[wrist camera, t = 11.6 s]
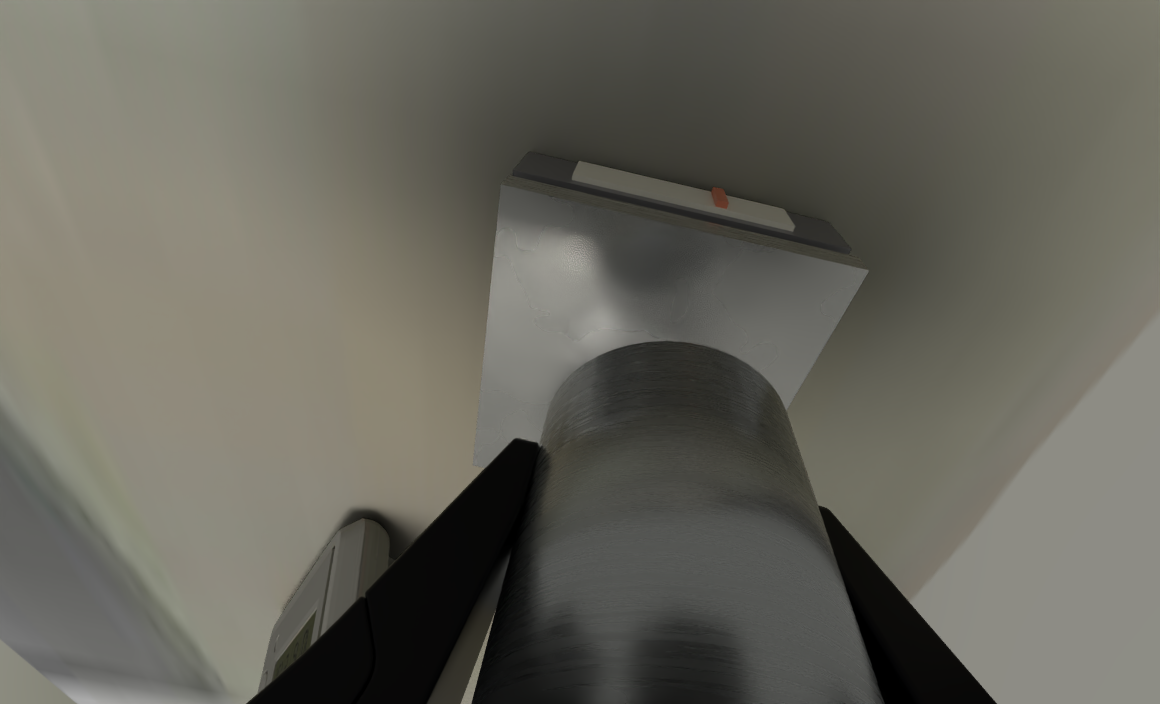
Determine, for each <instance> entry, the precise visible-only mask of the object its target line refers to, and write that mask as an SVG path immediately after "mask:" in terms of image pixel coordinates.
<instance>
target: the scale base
mask: <svg viewBox="0 0 1160 704" xmlns="http://www.w3.org/2000/svg"><path fill="white" fill-rule="evenodd" d="M513 176H515V177H519V178H523V179H527V180H532V181H536V182H540V183H545V184H549V185H553V186H557V187H562V188H566V189H570V190H574V191H579V192H583V193H587V194H592V195H596V196H600V197H604V198H609V199H613V200H617V201H621V202H626V203H630V204H634V205H639V206H643V207H647V208H651V209H656V210H660V211H664V212H669V213H673V214H677V215H681V216H686V217H690V218H694V219H698V220H703V221H707V222H711V223H716V224H720V225H724V226H728V227H733V228H737V229H741V230H745V231H750V232H754V233H758V234H763V235H767V236H771V237H775V238H780V239H784V240H788V241H792V242H797V243H801V244H805V245H810V246H814V247H818V248H822V249H827V250H831V251H835V252H839V253H844V254H849V253H850V251H851V248H850V247H849V245H848V244H847V243H846V242H845V241H844V239H843V238H842V237H841V236H840V235H839V233H838V232H837V231H836V230H835V229H834V227H833V226H832V225H831V224H830V223H829V222H827V221H823V220H818V219H814V218H810V217H806V216H801V215H797V214H793V213H789V212H786V211H785V210H784V209H783V208H778V207H774V206H770V205H766V204H761V203H757V202H753V201H749V200H744V199H740V198H736V197H732V196H727V195H726V194H725V192H724V189H721V188H716V187H713V189H712V191H711V192H710V191H706V190H702V189H697V188H693V187H689V186H685V185H680V184H676V183H672V182H668V181H663V180H659V179H655V178H651V177H646V176H642V175H638V174H634V173H629V172H625V171H621V170H617V169H612V168H608V167H604V166H600V165H595V164H591V163H587V162H583V161H579V162H578V163H576V162H571V161H567V160H563V159H559V158H554V157H550V156H546V155H542V154H537V153H533V152H528V153H527V154H526V156H525V157H524V158H523V159H522V160H521V161H520V163H519V164H518V165H517V166H516V167H515V168H514V170H513Z"/></svg>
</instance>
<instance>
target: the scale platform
mask: <svg viewBox="0 0 1160 704" xmlns="http://www.w3.org/2000/svg"><path fill="white" fill-rule="evenodd" d="M868 272H869V270H868V268H867V267H866V266H865V265H864V264H863V262H862V261H861V260H860V259H859V257H857V256H852V255H848V254H844V253H839V252H835V251H831V250H827V249H822V248H818V247H814V246H810V245H805V244H801V243H797V242H792V241H788V240H784V239H780V238H775V237H771V236H767V235H763V234H758V233H754V232H750V231H745V230H741V229H737V228H733V227H728V226H724V225H720V224H716V223H711V222H707V221H703V220H698V219H694V218H690V217H686V216H681V215H677V214H673V213H669V212H664V211H660V210H656V209H651V208H647V207H643V206H639V205H634V204H630V203H626V202H621V201H617V200H613V199H609V198H604V197H600V196H596V195H592V194H587V193H583V192H579V191H574V190H570V189H566V188H562V187H557V186H553V185H549V184H545V183H540V182H536V181H532V180H527V179H523V178H519V177H515V176H510V175H508V177H507V178H506V179H505V180H504V181H503V182H502V184H501V188H500V198H499V208H498V218H497V228H496V238H495V248H494V258H493V268H492V278H491V288H490V298H489V308H488V318H487V328H486V338H485V348H484V358H483V368H482V378H481V388H480V398H479V408H478V418H477V428H476V438H475V448H474V458H473V465H474V466H478V467H483V468H486V467H487V466H488V465H489V464H490V463H491V462H492V461H493V459H494V458H495V457H496V456H497V455H498V454H499V453H500V452H501V451H502V450H503V449H504V448H505V447H506V446H507V445H508V444H509V443H510V442H511V441H512V440H513V439H515V438H517V437H520V438H524V439H528V440H533V441H536V442H538V444H539V442H540V439H541V435H542V431H543V427H544V423H545V419H546V415H547V412H548V409H549V405H550V403H551V401H552V399H553V397H554V395H555V393H556V391H557V390H558V388H559V387H560V386H561V384H562V383H563V382H564V381H565V380H566V379H567V378H568V377H569V376H570V375H571V374H572V372H574V371H575V370H576V369H578V368H579V367H580V366H582V365H583V364H584V363H586V362H588V361H589V360H591V359H593V358H595V357H597V356H598V355H601V354H603V353H606V352H608V351H610V350H613V349H616V348H620V347H623V346H627V345H631V344H637V343H643V342H653V341H677V342H687V343H693V344H699V345H704V346H707V347H711V348H714V349H718V350H721V351H723V352H725V353H728V354H730V355H732V356H735V357H737V358H738V359H740V360H742V361H744V362H745V363H747V364H749V365H750V366H751V367H753V368H754V369H755V370H757V371H758V372H759V373H760V374H762V375H763V376H764V377H765V378H766V379H767V381H768V382H769V383H770V384H771V385H772V386H773V387H774V389H775V390H776V392H777V393H778V395H779V396H780V398H781V400H782V402H783V404H784V407H785V409H786V410H787V409H788V407H789V405H790V404H791V402H792V400H793V399H794V397H795V395H796V393H797V392H798V390H799V388H800V387H801V385H802V383H803V382H804V380H805V378H806V377H807V375H808V373H809V372H810V370H811V368H812V366H813V365H814V363H815V361H816V360H817V358H818V356H819V355H820V353H821V351H822V350H823V348H824V346H825V345H826V343H827V341H828V339H829V338H830V336H831V334H832V333H833V331H834V329H835V328H836V326H837V324H838V323H839V321H840V319H841V317H842V316H843V314H844V312H845V311H846V309H847V307H848V306H849V304H850V302H851V301H852V299H853V297H854V296H855V294H856V292H857V290H858V289H859V287H860V285H861V284H862V282H863V280H864V279H865V277H866V275H867V274H868Z"/></svg>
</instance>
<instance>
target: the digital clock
mask: <svg viewBox="0 0 1160 704" xmlns="http://www.w3.org/2000/svg"><path fill="white" fill-rule="evenodd" d="M389 545H390V543H389V536H388V534H387V532H386V531H385V529H384V528H383V527H382V526H381V525H380V524H379V523H377V522H375V521H373V520H369V519H364V518H362V519H360V520H358V521H356V522H354V523H352V524H350V525H348V526H346V527H344V528H342V529H340V530H339V531H338V532H337V533H336V534H335V536H334V537H333V539H332V540H331V541H330V543H329V544H328V546H327V547H326V549H325V550H324V552H323V553H322V555H321V556H320V558H319V559H318V561H317V562H316V563H315V565H314V566H313V568H312V569H311V571H310V572H309V574H308V575H307V577H306V578H305V580H304V581H303V583H302V584H301V586H300V587H299V589H298V590H297V592H296V593H295V595H294V596H293V598H292V599H291V601H290V602H289V604H288V605H287V607H286V608H285V610H284V611H283V613H282V614H281V616H280V617H279V619H278V620H277V622H276V624H275V625H274V628H273V630H272V634H271V637H270V641H269V645H268V650H267V654H266V658H265V663H264V667H263V672H262V676H261V680H260V685H259V689H258V693H259V692H260V691H261V690H263V689H264V688H265V687H266V686H267V685H268V684H269V683H270V682H272V681H273V680H274V679H275V678H276V677H277V676H278V675H279V674H281V673H282V672H283V671H284V670H285V669H286V668H287V667H288V666H290V665H291V664H292V663H293V662H294V661H295V660H296V659H297V658H299V657H300V656H301V655H302V654H303V653H304V652H305V651H306V650H307V649H308V648H309V647H310V646H311V645H312V644H313V643H314V642H315V641H316V640H317V639H318V638H319V637H320V636H321V635H322V634H323V633H324V632H325V631H326V630H327V629H328V628H330V627H331V626H332V625H333V624H334V623H335V622H336V621H337V620H338V619H339V618H340V617H341V616H342V615H343V614H344V612H345V611H346V610H347V609H348V608H349V607H350V606H351V605H352V604H353V603H354V602H355V601H356V600H357V599H358V598H359V597H361V596H364V597H365V591H366V590H367V589H368V588H369V587H370V586H371V585H372V584H373V583H374V582H375V581H376V580H377V579H378V578H379V577H380V576H381V575H382V574H383V573H384V572H385V571H386V570H387V569H388V568H389V567H390V566H391V564H392V563H393V562H394V561H395V560H394V559H392V558H390V557H389Z"/></svg>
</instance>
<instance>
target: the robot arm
mask: <svg viewBox="0 0 1160 704" xmlns="http://www.w3.org/2000/svg"><path fill="white" fill-rule="evenodd" d="M538 449H539V444H538V442H536V441H533V440H528V439H524V438H520V437H517V438H515V439H513V440H512V441H511V442H510V443H509V444H508V445H507V446H506V447H505V448H504V449H503V450H502V451H501V452H500V453H499V454H498V455H497V456H496V457H495V458H494V459H493V461H492V462H491V463H490V464H489V465H488V466H487V467H486V468H485V469H484V470H483V471H482V472H481V473H480V474H479V475H478V476H477V477H476V478H475V479H474V480H473V481H472V482H471V483H470V484H469V485H468V486H467V487H466V488H465V489H464V490H463V491H462V492H461V493H460V494H459V496H458V497H457V498H456V499H455V500H454V501H453V502H452V503H451V504H450V505H449V506H448V507H447V508H446V509H445V510H444V511H443V512H442V513H441V514H440V515H439V516H438V517H437V518H436V519H435V520H434V521H433V522H432V523H431V524H430V525H429V526H428V527H427V528H426V529H425V531H424V532H423V533H422V534H421V535H420V536H419V537H418V538H417V539H416V540H415V541H414V542H413V543H412V544H411V545H410V546H409V547H408V548H407V549H406V550H405V551H404V552H403V553H402V554H401V555H400V556H399V557H398V558H397V559H396V560H395V561H394V562H393V563H392V564H391V566H390V567H389V568H388V569H387V570H386V571H385V572H384V573H383V574H382V575H381V576H380V577H379V578H378V579H377V580H376V581H375V582H374V583H373V584H372V585H371V586H370V587H369V588H368V589H367V590H366V591H365V597H364V596H361V597H359V598H358V599H357V600H356V601H355V602H354V603H353V604H352V605H351V606H350V607H349V608H348V609H347V610H346V611H345V612H344V614H343V615H342V616H341V617H340V618H339V619H338V620H337V621H336V622H335V623H334V624H333V625H332V626H331V627H330V628H328V629H327V630H326V631H325V632H324V633H323V634H322V635H321V636H320V637H319V638H318V639H317V640H316V641H315V642H314V643H313V644H312V645H311V646H310V647H309V648H308V649H307V650H306V651H305V652H304V653H303V654H302V655H301V656H300V657H299V658H297V659H296V660H295V661H294V662H293V663H292V664H291V665H290V666H288V667H287V668H286V669H285V670H284V671H283V672H282V673H281V674H279V675H278V676H277V677H276V678H275V679H274V680H273V681H272V682H270V683H269V684H268V685H267V686H266V687H265V688H264V689H263V690H261V691H260V692H259V693H258V694H257V695H256V696H255V697H253V698H252V699H251V700H250V701H249V702H248V703H246V704H461V701H462V698H463V696H464V693H465V690H466V688H467V685H468V682H469V679H470V677H471V674H472V671H473V669H474V666H475V663H476V661H477V658H478V655H479V653H480V650H481V647H482V645H483V642H484V639H485V637H486V634H487V631H488V629H489V626H490V623H491V621H492V618H493V615H494V613H495V610H496V607H497V604H498V600H499V596H500V592H501V588H502V585H503V581H504V577H505V573H506V569H507V565H508V562H509V558H510V554H511V550H512V546H513V542H514V539H515V535H516V532H517V528H518V525H519V521H520V517H521V514H522V510H523V507H524V503H525V499H526V495H527V491H528V488H529V484H530V480H531V476H532V472H533V468H534V464H535V461H536V457H537V453H538ZM818 507H819V510H820V513H821V516H822V519H823V522H824V525H825V528H826V531H827V534H828V537H829V540H830V543H831V546H832V549H833V552H834V555H835V558H836V561H837V564H838V567H839V570H840V573H841V576H842V579H843V581H844V584H845V587H846V590H847V593H848V596H849V599H850V602H851V605H852V608H853V611H854V614H855V617H856V620H857V623H858V626H859V629H860V632H861V635H862V638H863V641H864V644H865V647H866V650H867V653H868V656H869V659H870V662H871V665H872V668H873V671H874V674H875V677H876V680H877V683H878V686H879V689H880V692H881V695H882V698H883V701H884V703H885V704H997V703H996V702H995V701H994V700H993V699H992V697H990V695H989V694H988V693H987V692H986V691H985V689H984V688H983V687H982V686H981V685H980V684H979V682H978V681H977V680H976V679H975V678H974V677H973V676H972V674H971V673H970V672H969V671H968V670H967V669H966V667H965V666H964V665H963V664H962V663H961V662H960V660H959V659H958V658H957V657H956V656H955V655H954V654H953V652H952V651H951V650H950V649H949V648H948V647H947V646H946V644H945V643H944V642H943V641H942V640H941V638H940V637H939V636H938V635H937V634H936V633H935V631H934V630H933V629H932V628H931V627H930V626H929V625H928V623H927V622H926V621H925V620H924V619H923V618H922V617H921V615H920V614H919V613H918V612H917V611H916V609H914V607H913V606H912V605H911V604H910V603H909V601H908V600H907V599H906V598H905V597H904V596H903V594H902V593H901V592H900V591H899V590H898V589H897V587H896V586H895V585H894V584H893V583H892V582H891V581H890V579H889V578H888V577H887V576H886V575H885V574H884V572H883V571H882V570H881V569H880V568H879V567H878V565H877V564H876V563H875V562H874V561H873V560H872V559H871V557H870V556H869V555H868V554H867V553H866V552H865V550H864V549H863V548H862V547H861V546H860V545H859V543H858V542H857V541H856V540H855V539H854V538H853V537H852V535H851V534H850V533H849V532H848V531H847V530H846V528H845V527H844V526H843V525H842V524H841V523H840V521H839V520H838V519H837V518H836V517H835V516H834V515H833V513H832V512H831V511H830V510H829V509H827V508H825V507H822V506H818Z"/></svg>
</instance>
